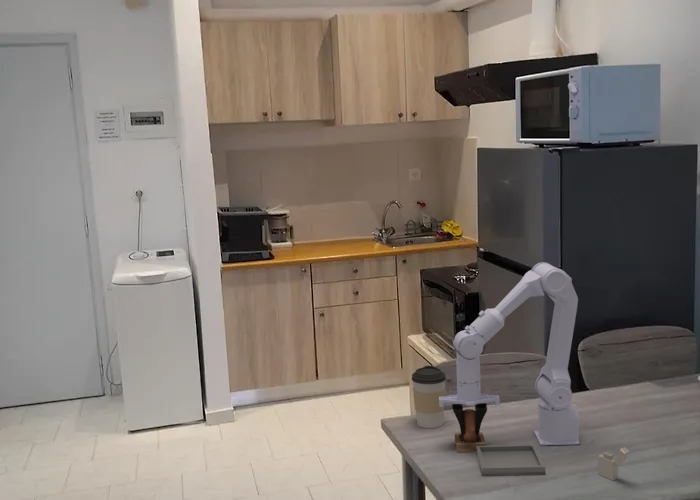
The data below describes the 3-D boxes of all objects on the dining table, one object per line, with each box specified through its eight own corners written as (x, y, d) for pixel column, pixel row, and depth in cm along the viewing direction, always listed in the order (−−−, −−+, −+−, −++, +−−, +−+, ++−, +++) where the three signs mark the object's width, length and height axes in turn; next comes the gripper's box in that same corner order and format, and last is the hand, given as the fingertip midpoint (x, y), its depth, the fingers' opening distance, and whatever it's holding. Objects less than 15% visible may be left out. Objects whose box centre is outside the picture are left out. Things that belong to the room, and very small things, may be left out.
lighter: (597, 473, 163) (598, 439, 162) (602, 471, 164) (603, 437, 163) (624, 485, 157) (624, 450, 156) (629, 483, 158) (630, 448, 157)
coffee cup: (445, 430, 191) (444, 375, 188) (411, 429, 193) (409, 374, 190) (448, 417, 200) (446, 364, 197) (415, 416, 201) (413, 363, 199)
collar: (482, 439, 184) (482, 432, 184) (486, 451, 177) (486, 443, 177) (454, 440, 184) (454, 432, 184) (457, 452, 178) (457, 444, 177)
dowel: (475, 443, 182) (474, 408, 181) (476, 448, 179) (476, 413, 178) (463, 443, 182) (462, 409, 181) (464, 448, 179) (463, 413, 178)
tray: (534, 451, 176) (534, 444, 176) (545, 474, 164) (545, 466, 164) (476, 452, 177) (476, 445, 176) (482, 475, 165) (482, 468, 165)
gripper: (439, 386, 175) (441, 440, 177) (501, 384, 174) (502, 438, 176) (437, 376, 182) (439, 428, 184) (496, 375, 181) (497, 427, 183)
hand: (469, 432), depth 180 cm, fingers closed on dowel, 3 cm apart
